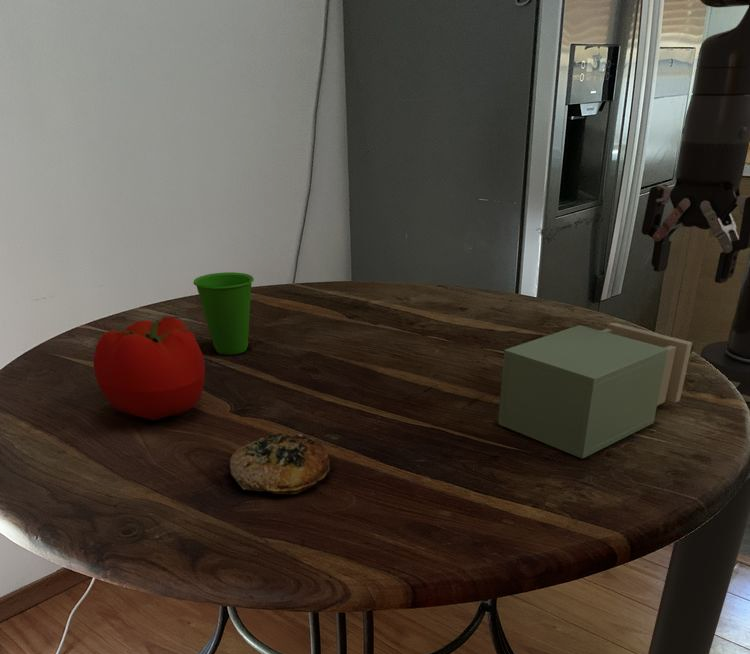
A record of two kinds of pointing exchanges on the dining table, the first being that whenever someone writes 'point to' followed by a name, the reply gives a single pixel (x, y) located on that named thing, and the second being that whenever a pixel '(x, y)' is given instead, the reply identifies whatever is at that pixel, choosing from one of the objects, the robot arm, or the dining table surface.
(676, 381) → the drawer
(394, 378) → the dining table surface
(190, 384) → the tomato
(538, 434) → the sage green box
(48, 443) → the dining table surface
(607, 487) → the dining table surface
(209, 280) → the cup
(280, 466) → the bread roll
